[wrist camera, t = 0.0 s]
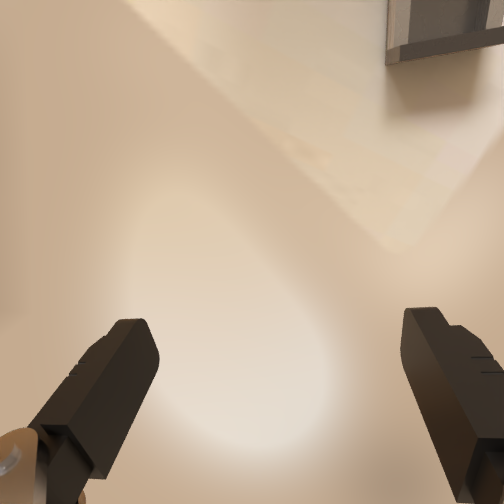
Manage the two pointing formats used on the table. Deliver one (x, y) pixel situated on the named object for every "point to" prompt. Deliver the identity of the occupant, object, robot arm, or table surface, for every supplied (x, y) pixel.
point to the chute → (441, 27)
